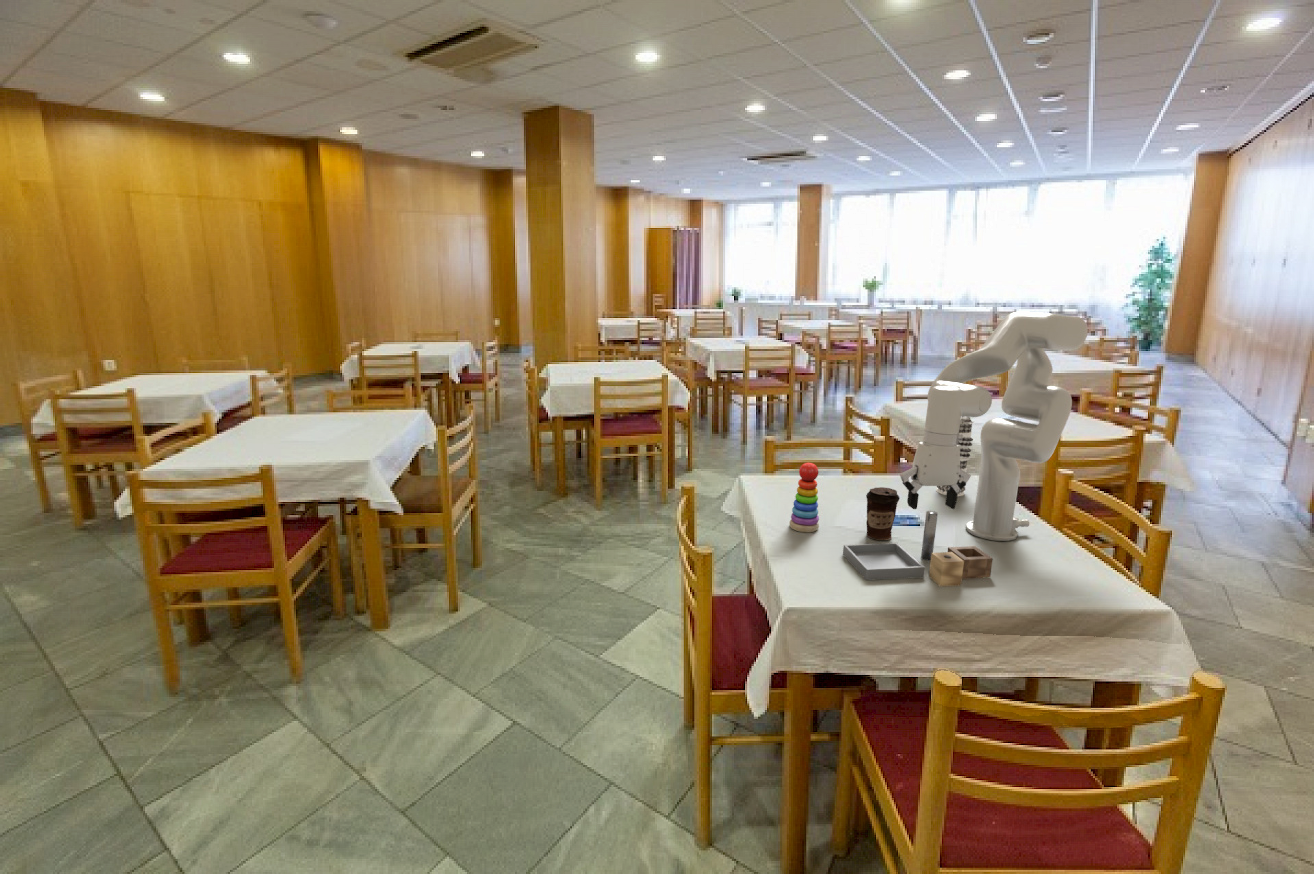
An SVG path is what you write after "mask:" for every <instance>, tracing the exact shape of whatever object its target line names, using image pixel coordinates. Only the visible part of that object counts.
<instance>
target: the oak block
mask: <svg viewBox="0 0 1314 874" xmlns="http://www.w3.org/2000/svg"><path fill="white" fill-rule="evenodd" d="M963 565H964V561H963V560H962V559H960V558H959V557H958V556H957V555H955V554H954V553H953V552H948V551H946V552H943V551H942V552H933V553H932V554H931V560H930V564H929V571H928V577H929V578H930V579H931V580H933V582H935V584H937V585H938V587H952V586H953V587H954V586H956V587H957V586H961V585H962V580H963V579H962V573H963Z"/></svg>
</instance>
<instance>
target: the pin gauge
mask: <svg viewBox="0 0 1314 874" xmlns="http://www.w3.org/2000/svg"><path fill="white" fill-rule="evenodd" d="M938 514H939V513H938V512H937V511H933V510H926V512H925V520H924V528H923V536H922V537H923V538H922V545H921V553H920V558H921V559H922V560H924V561H931V554H932V553H934V546H935V539H936V533H937V532H936V529H937V525H938V524H937V523H938V516H939V515H938Z"/></svg>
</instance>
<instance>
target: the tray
mask: <svg viewBox="0 0 1314 874" xmlns="http://www.w3.org/2000/svg"><path fill="white" fill-rule="evenodd" d="M842 547H843V548H842V549H843V550H842V556H844V557H845V558H846V560H847V561H848V562H849V563H850V565H852V566H853V567H854V569H856V570H857V572H858V573H859V574H860V575H861V576H862V578H863V579H864V580H865V581H873V580H872V579H878V580H896V579H916V578H917V579H918V578H924V577H925V571H926V567H925V566H924V565H923V564H922V563H921V562H919V561H918V560H917V559H916V558H915V557H914V556H913V555H912V554H910V552H908V551H907V549H905V548H904V547H903V546H901V545H900V544H899V543H898V542H887V543H886V542H883V543H881V542H880V543H860V544H859V543H858V544H857V543H855V544H843V546H842Z"/></svg>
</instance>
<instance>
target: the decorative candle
mask: <svg viewBox="0 0 1314 874" xmlns="http://www.w3.org/2000/svg"><path fill="white" fill-rule="evenodd" d="M973 424H974V421H973V420H972V419H971V417H961V422H960V429H959V434H962V435H963V439H961V440H958V443H957V445H959V449H960V469H961V470H963V471H965V472H966V473H968V472H967V471H968V466H967V465H968V461H969V460H970V457H971V454H970V453H971V452H972V449H970V447H972V446H973V443H972V441H973V440H974V439H973V438H972V432H973V431H972V428H973ZM960 478H961V475H959V478H958V481H959V480H960ZM966 486H967V484H966V485H965V486H964V487H963V488H962V489H961V491H960V493H958V495H957V497H963V496H964V495H965V491H966ZM948 489H950V488H949V486H936V490H935V491H936V492H937V493H938V494H940V495H943V496H946V495H947V490H948Z"/></svg>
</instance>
